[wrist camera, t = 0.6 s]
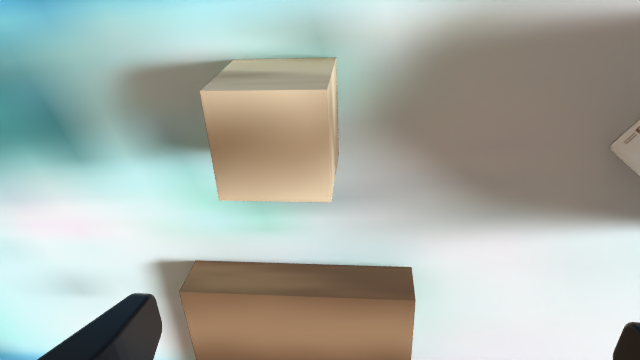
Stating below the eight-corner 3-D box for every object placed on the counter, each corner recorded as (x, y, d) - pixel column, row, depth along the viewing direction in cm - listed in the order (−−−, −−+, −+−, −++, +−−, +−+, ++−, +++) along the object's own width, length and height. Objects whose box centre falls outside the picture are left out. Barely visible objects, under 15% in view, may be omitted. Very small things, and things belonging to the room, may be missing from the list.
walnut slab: (401, 402, 30) (404, 446, 28) (228, 391, 32) (215, 433, 29) (410, 261, 25) (415, 300, 22) (198, 255, 26) (179, 291, 23)
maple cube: (338, 152, 21) (331, 202, 18) (246, 152, 22) (219, 200, 18) (336, 57, 19) (327, 89, 15) (234, 59, 20) (199, 90, 16)
